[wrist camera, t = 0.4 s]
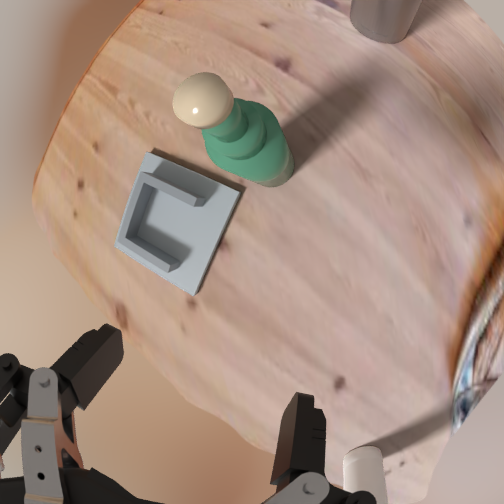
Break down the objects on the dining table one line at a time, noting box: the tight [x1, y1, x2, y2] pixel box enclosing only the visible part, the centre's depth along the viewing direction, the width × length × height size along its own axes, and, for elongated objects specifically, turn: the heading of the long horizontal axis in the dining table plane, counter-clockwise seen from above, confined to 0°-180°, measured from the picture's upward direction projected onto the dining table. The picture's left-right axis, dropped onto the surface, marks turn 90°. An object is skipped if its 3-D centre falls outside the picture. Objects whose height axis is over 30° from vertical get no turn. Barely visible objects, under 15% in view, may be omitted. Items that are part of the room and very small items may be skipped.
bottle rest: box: [114, 152, 241, 296], centre depth 36 cm, size 16×16×4 cm
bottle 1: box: [173, 72, 294, 187], centre depth 23 cm, size 6×6×23 cm
